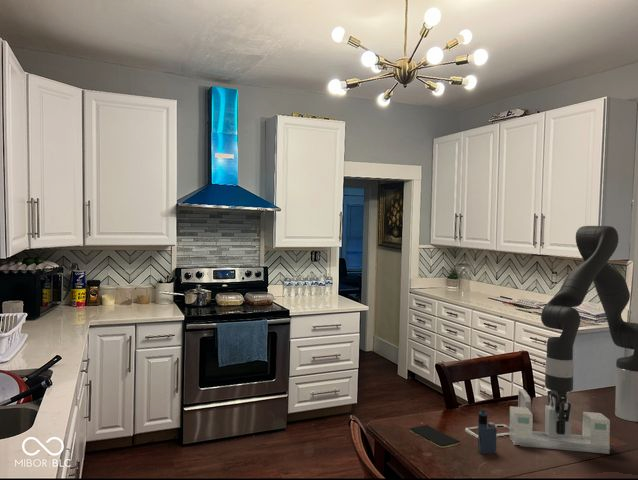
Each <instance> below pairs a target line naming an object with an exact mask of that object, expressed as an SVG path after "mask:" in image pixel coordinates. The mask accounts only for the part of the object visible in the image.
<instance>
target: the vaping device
mask: <svg viewBox="0 0 638 480" xmlns="http://www.w3.org/2000/svg"><path fill="white" fill-rule="evenodd" d="M477 424H478V425H477V427H478V428H477V435H478V439H477V451H479V452H478V453H480V454H484V455H485V454H486V455H487V454H490V455H491V454H492V455H495V454H496V451H497V438H498V437H497V434H498V433H497V427H495V425H496V423H495V422H492V421H488V412H486V410H485V409H484V408H481V409H480V411H478V422H477Z"/></svg>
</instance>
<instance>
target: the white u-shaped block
mask: <svg viewBox="0 0 638 480" xmlns="http://www.w3.org/2000/svg"><path fill="white" fill-rule="evenodd" d="M533 416H534V414H533V413H532V412H530V410H529V409H528V408H526V407H518V406H512V405H511V406H509V426H508V427H509V428H508V433H509V436H508V438H509V437H510V438H509V439H510V441H511V440H512V441H511V442H513V443H512V445H513V446H514V445H520V446H519V447H526V448H539V449H550V450H551V449H552V450H562V451H572V452H573V451H574V452H587V453H594V454H595V453H596V454H597V453H598V454H606V455H607V454H608V455H609V454H610V451H611V445H610V439H611V438H610V437H611V435H610V433H611V432H610V430H611V428H610V427H611V424H610V423H611V420H610V419H609V418H608V417H607V416H605V415H604V414H602V413H601V412H589V411H582V425H583V435H582V434H572V433H571V439H570V438H558V437H549V436H548V435H547V434H546V433H545V431H536V430H535V431H533V418H534V417H533Z"/></svg>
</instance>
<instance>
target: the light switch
mask: <svg viewBox="0 0 638 480" xmlns="http://www.w3.org/2000/svg"><path fill="white" fill-rule="evenodd" d="M517 397H518V398H517V401H518V402H517V407H526V408H528V409H529V410H530V412H531V410H532V406H531V405H532V401H531V397H530V395H529V394H528V392H527V391H526V389H524V388H519V389H518V396H517ZM531 413H532V412H531Z"/></svg>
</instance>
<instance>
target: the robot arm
mask: <svg viewBox="0 0 638 480" xmlns="http://www.w3.org/2000/svg"><path fill="white" fill-rule="evenodd" d="M575 243H576V247H577V249H578V252H579V255H581V259H583V261H584V262H582V263H581V264H579V265H578V266H576V267H575V268H573V269H572V270H571V271H570V272H569V273H568V274H567V276H566V277H565V279H564V281H563V283H562V284H561V286H560V289H559V291H558V292H557V293H556V294H555V295H554V296H553V297H552V298H551V299H550V300H549V301H548V302H547V303H546V304H545V305H544V307H543V309H542V311H541V315H540V319H541V320H540V321H541V323H542V324H543V326H545V327H546V328H549V329H553V330H560V331H561V334H560V335H559V336H551V337H548V338H547V342H546V359H545V369H544V370H545V372H544V373H545V374H544V387H545V388H546V389H547V392H546V393H547V403H548V404H547V405H549V406H554V411H555V412H556V420H557V421H556V432H557V434H563V435H564V434H565V422H568V421H569V415H570V410H571V408H572V403H569V397H568V396H567V393H571V392H572V391H573V390H574V360H573V359H574V358H573V357H574V356H573V355H574V343H575V341H576V337H577V334H578V331H579V328H580V325H581V315H580V313H579V311H578V310H577V309H576V308H577V307H579V306H581V305H582V304H583V302H584V300H585V297H586V296H587V294H588V292H589V289H590V288H591V285H592V283H593V285H594V288H595V291H596V293H597V296H598V299H599V301H600V303H601V305H602V308H603V311H604V313H605V314H604V315H605V318H606V321H607V325H608V329H609V330H608V331H609V334H610V337H611V340H612V342H613V344H614V345H615V346H617V347H618V348H623V349H629V350H633V354H632V355H630V356H629V355H628V356H624V357H623V356H622V357H618V358H617V359H616V363H615V364H616V365H615V367H616V368H615V402H614V403H615V405H614V406H615V407H614V414H615V416H616V417H617V418H619V419H622V420H623V421H624V420H625V421H629V422H634V423H638V323H637V322H629V321H624V320H623V317H622V313H623V312H624V310H625V309H626V307H627V305H628V304H629V302H630V298H631V293H630V290H629V286H628V284H627V281H626V278H625V277H624V276H623V274H621V273H620V272H619V271H618V269H616V268H614V267H613V266H612V265H611V264H609V262H608V261H609V260H610V259H611V257H612V256H613V255H614V253H615V251H616V249H617V247H618V245H619V234H618V231H617V229H616V228H615V227H614V226H611V225H583V226H580V227H579V228H578V229H577V230H576V233H575ZM558 409H560V410H558ZM562 415H563V417H562Z"/></svg>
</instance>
